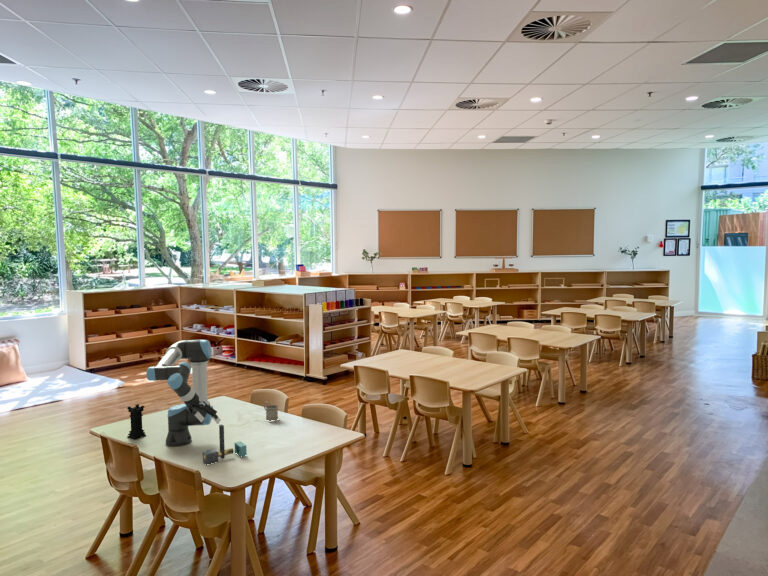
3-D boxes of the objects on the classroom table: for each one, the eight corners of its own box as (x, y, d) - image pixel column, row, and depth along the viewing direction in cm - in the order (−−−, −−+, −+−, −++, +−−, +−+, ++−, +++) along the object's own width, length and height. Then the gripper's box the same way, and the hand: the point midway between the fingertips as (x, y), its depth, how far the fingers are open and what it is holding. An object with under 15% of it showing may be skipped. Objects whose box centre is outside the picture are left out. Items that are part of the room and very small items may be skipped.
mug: (281, 419, 361) (281, 403, 360) (270, 423, 354) (270, 406, 353) (269, 415, 371) (269, 399, 370) (258, 418, 363) (258, 402, 363)
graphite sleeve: (202, 462, 287) (202, 451, 286) (214, 459, 291) (214, 448, 291) (206, 465, 282) (205, 454, 282) (218, 462, 287) (218, 451, 286)
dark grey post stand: (203, 461, 286) (202, 428, 284) (231, 454, 296) (230, 422, 295) (205, 463, 283) (204, 429, 282) (233, 455, 294) (232, 423, 292)
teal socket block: (234, 453, 300) (234, 442, 300) (240, 451, 302) (240, 441, 302) (240, 457, 293) (240, 447, 293) (246, 456, 296) (246, 445, 295)
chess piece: (138, 433, 334) (137, 404, 333) (146, 435, 330) (145, 405, 328) (127, 437, 327) (126, 407, 326) (134, 439, 323) (133, 409, 322)
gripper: (170, 401, 278) (192, 425, 290) (200, 403, 266) (222, 428, 277) (178, 390, 284) (199, 414, 295) (209, 392, 271) (230, 417, 282)
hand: (210, 421), depth 286 cm, fingers open, 13 cm apart
